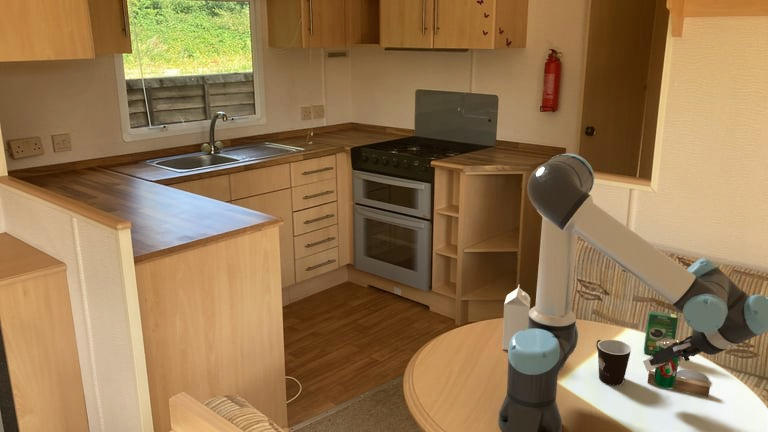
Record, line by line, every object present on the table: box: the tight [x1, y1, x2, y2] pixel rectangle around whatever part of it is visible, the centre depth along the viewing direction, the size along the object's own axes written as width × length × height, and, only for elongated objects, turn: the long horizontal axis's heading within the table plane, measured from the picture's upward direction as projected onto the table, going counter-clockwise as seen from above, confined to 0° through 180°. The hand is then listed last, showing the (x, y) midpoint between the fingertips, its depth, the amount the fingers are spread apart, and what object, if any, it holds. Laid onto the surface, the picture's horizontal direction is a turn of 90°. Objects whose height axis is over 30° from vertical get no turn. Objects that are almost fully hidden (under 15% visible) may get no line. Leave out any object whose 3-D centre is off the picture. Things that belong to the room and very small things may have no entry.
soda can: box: [654, 338, 680, 390], centre depth 161 cm, size 5×5×12 cm
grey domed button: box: [676, 368, 710, 384], centre depth 176 cm, size 8×8×1 cm
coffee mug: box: [596, 338, 632, 387], centre depth 177 cm, size 12×9×10 cm
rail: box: [647, 370, 711, 398], centre depth 171 cm, size 15×2×3 cm, turn 61°
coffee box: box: [643, 310, 679, 356], centre depth 188 cm, size 8×3×13 cm, turn 70°
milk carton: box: [501, 284, 531, 351], centre depth 193 cm, size 7×7×19 cm
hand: (655, 364), depth 165 cm, fingers closed on soda can, 5 cm apart
